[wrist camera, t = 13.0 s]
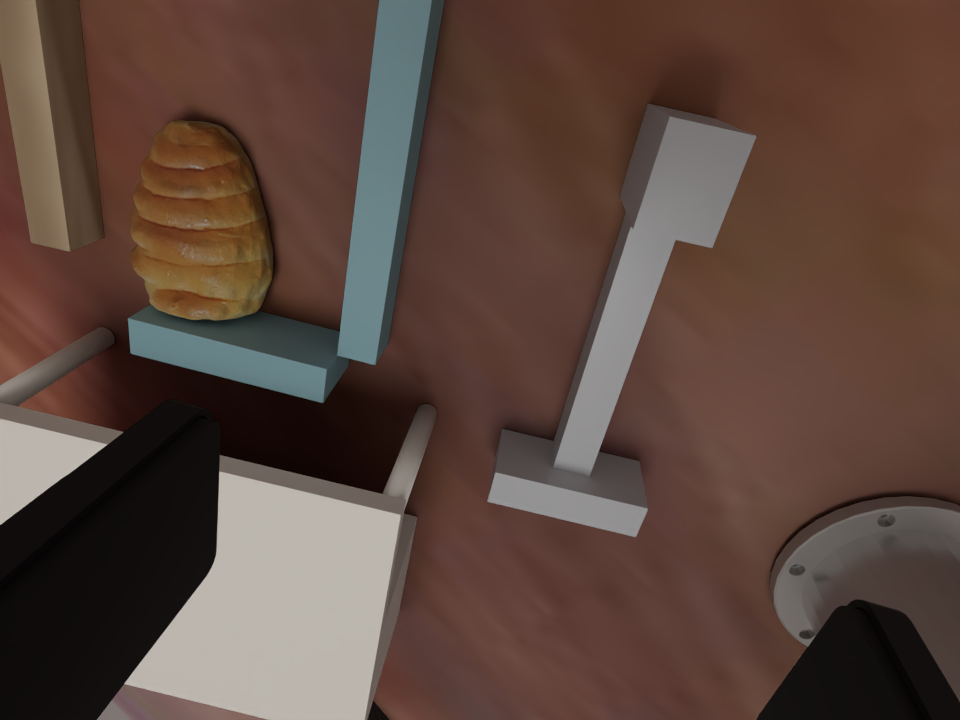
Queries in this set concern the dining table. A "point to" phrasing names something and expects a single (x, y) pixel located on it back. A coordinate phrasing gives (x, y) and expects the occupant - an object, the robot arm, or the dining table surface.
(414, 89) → the blue-grey long flat part
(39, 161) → the brown angular wooden piece
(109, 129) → the dining table surface
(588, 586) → the dining table surface
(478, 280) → the dining table surface
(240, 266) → the pastry
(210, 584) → the desk
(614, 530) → the tee stick
